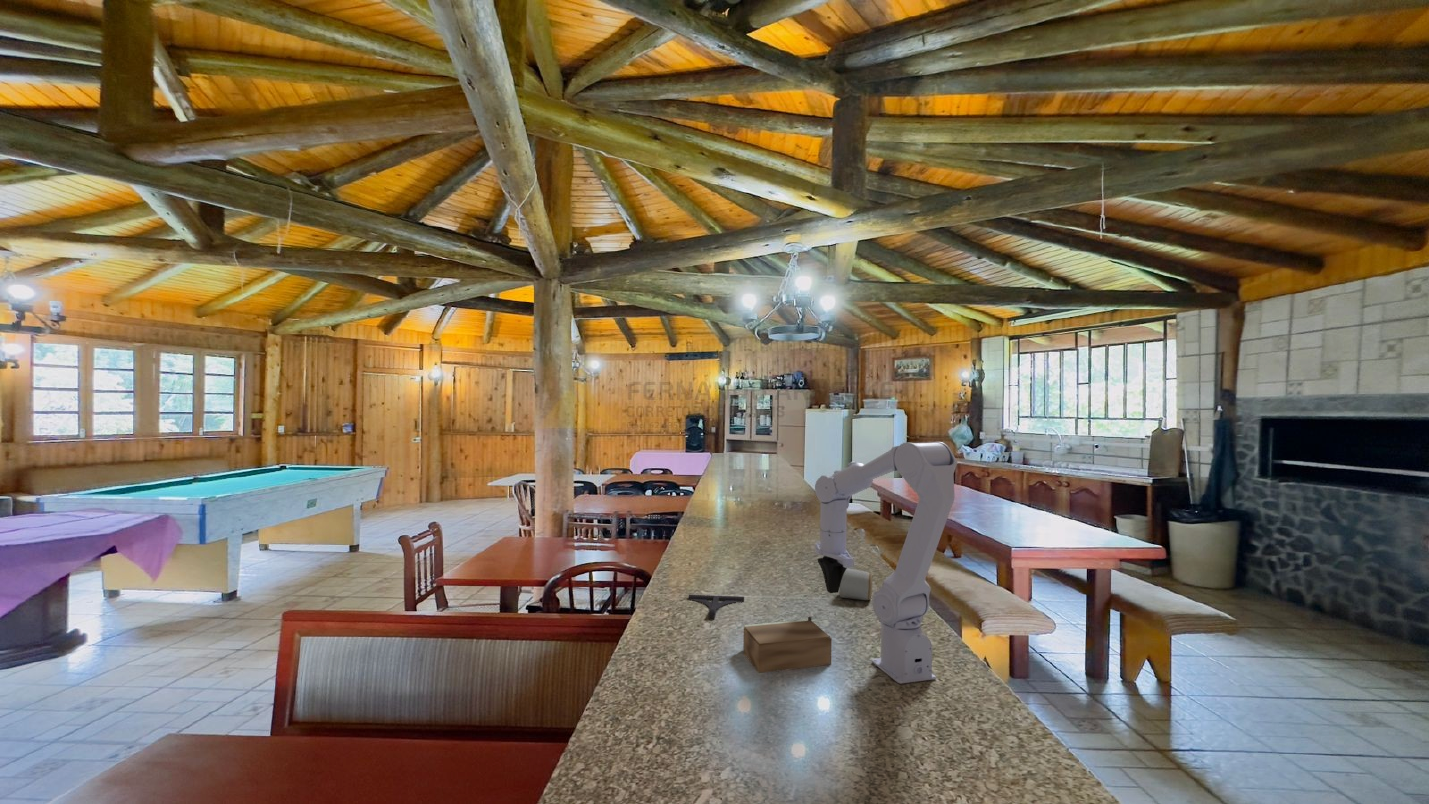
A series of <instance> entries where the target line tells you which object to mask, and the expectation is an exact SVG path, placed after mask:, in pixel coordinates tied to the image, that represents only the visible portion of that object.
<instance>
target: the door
mask: <svg viewBox="0 0 1429 804" xmlns="http://www.w3.org/2000/svg"><path fill="white" fill-rule="evenodd" d="M800 621H808V618H807V619H806V618H805V619H797V620H786V621H776V622H775V621H774V622H766V623H765V622H764V623H753V624H743V629H744V628H745V627H747V626H758V625H768V624H779V623H789V622H800Z"/></svg>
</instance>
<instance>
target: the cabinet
mask: <svg viewBox="0 0 1429 804" xmlns="http://www.w3.org/2000/svg"><path fill="white" fill-rule="evenodd" d="M807 620H808V621H800V622H789V623H779V624H768V625H758V626H747V627H745V628H744V627H743V649H742V652H743V654H744V656H745V657H746V658H747V659H748V661H749V662H750V664H751V665H752V666H753V668H754V669H755V670H756V671H757V672H758V674H761V673H762V674H763V673H770V672H777V670H778V672H779V670H780V671H786V669H788V670H792V669H793V670H795V669H802V668H803V669H804V668H810V667H811V668H812V667H820V666H828V665H832V642H833V641H832V637H831V635H829V634H828V633H826V631H824V630H823V629H822V628H821V627H819V626H818V625H817V624H816V623H815V622H814V621H813V620H812V617H811V616H807Z"/></svg>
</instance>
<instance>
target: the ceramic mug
mask: <svg viewBox="0 0 1429 804" xmlns="http://www.w3.org/2000/svg"><path fill="white" fill-rule="evenodd" d="M838 593H839V597H840V598H844V599H850V600H852V599H853V600H859V601H870V600H871V599H872V593H873V575H872V573H870V572H867V571H866V570H865V571H864V570H858V569H852V568H847V569H846V570H845V572H844V574H843V577H842V580H841V584H840V588H839V591H838Z"/></svg>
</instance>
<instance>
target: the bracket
mask: <svg viewBox="0 0 1429 804" xmlns="http://www.w3.org/2000/svg"><path fill="white" fill-rule="evenodd" d="M689 599H690V600H689ZM688 600H689V601H691V600H692V602H697V603H699V602H701V603H700V604H702V603H703V605H704V604H705V606H706V607H708V609H709V612H708V620H715V619H716V614H717V611H718V610H719V609H720V608H722V607H724V606H728V604H729V605H732V603H734V604H737V603H736V602H741V603H744V602H745V596H738V595H737V596H736V595H733V596H732V595H712V594H711V595H710V594H709V595H707V594H688ZM708 600H712V601H708Z"/></svg>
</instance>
